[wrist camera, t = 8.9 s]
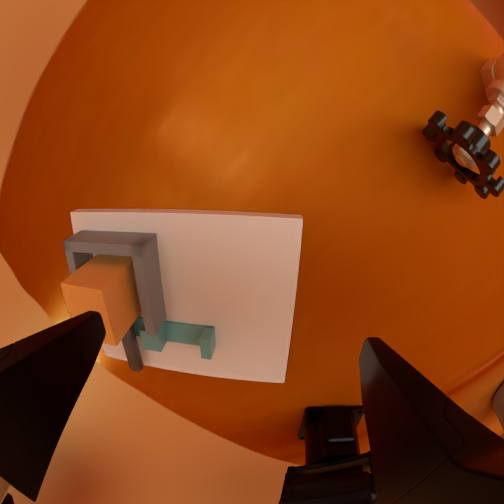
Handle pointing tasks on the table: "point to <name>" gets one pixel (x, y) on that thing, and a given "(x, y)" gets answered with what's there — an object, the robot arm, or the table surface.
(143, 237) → the end holder
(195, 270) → the board
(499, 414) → the water bottle
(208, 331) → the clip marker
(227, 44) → the table surface
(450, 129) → the valve
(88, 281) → the block
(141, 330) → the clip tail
